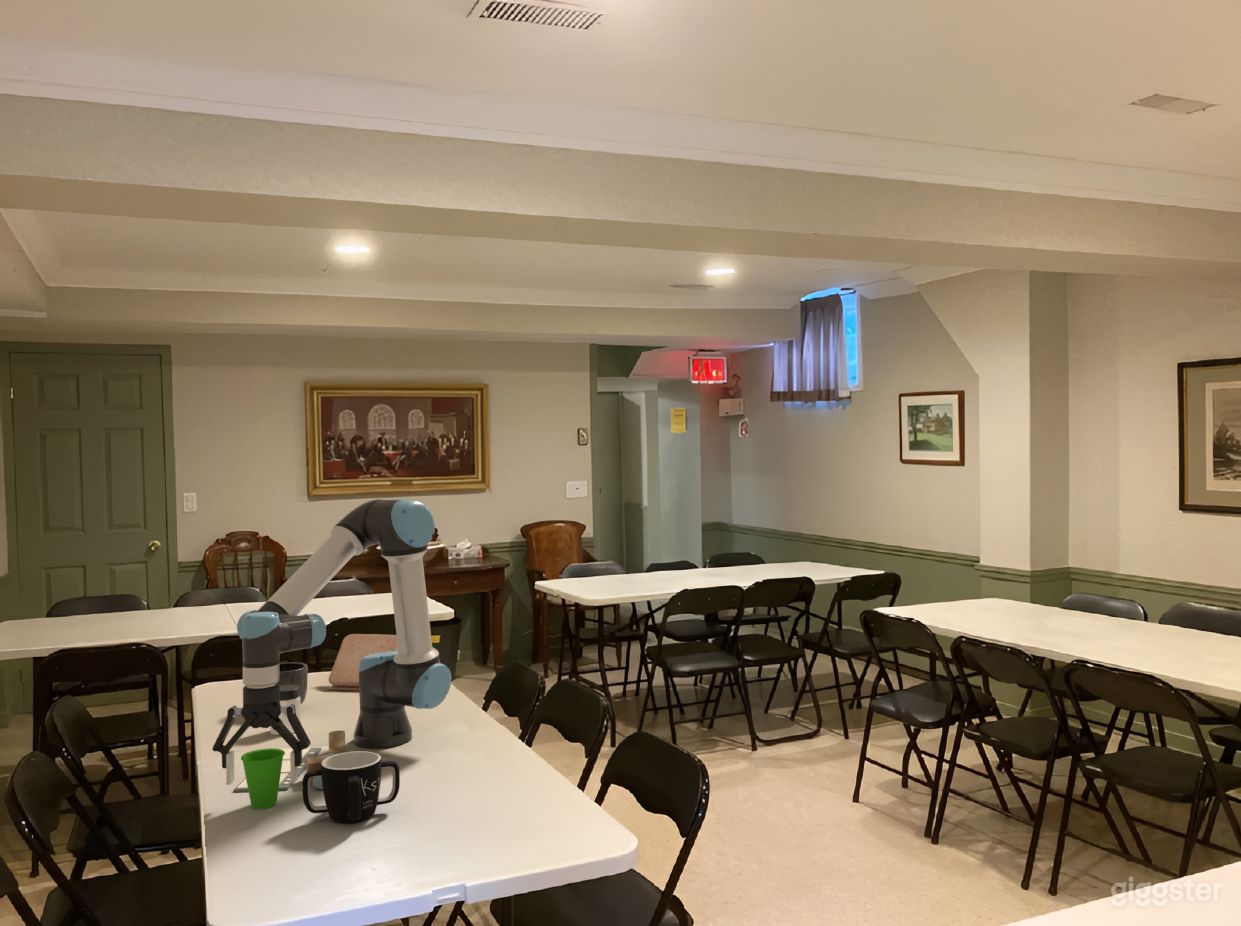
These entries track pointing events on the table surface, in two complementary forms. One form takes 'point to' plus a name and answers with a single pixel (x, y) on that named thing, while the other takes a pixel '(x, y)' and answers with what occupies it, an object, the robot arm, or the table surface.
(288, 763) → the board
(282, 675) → the planter
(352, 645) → the case
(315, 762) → the walnut block
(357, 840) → the table surface
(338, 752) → the beech cylinder
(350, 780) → the mug
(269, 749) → the cup
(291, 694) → the jar
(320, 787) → the dusty blue ball
